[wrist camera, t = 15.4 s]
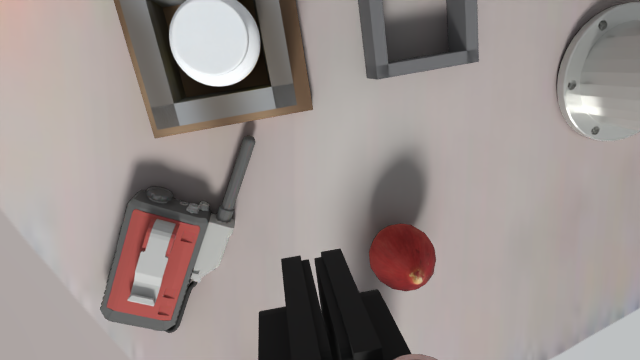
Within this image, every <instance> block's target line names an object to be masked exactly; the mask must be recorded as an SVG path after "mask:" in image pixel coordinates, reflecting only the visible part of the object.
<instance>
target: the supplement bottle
mask: <svg viewBox="0 0 640 360" xmlns="http://www.w3.org/2000/svg"><path fill="white" fill-rule="evenodd" d="M169 41H170V47H171V51H172V54H173V56H174V58H175V60H176V62H177V63H178V65H179V66H180V67H181V69H182V70H183V71H184V72H185V73H186V74H187V75H189V76H190V77H191V78H193V79H194V80H196V81H198V82H200V83H203V84H206V85H210V86H228V85H232V84H235V83H237V82H239V81H241V80H243V79H244V78H245V77H246V76H248V75H249V74H250V73H251V72H252V70H253V69H254V67H255V66H256V64H257V61H258V58H259V53H260V35H259V30H258V27H257V24H256V22H255V20H254V18H253V17H252V15H251V14H250V13H249V11H248V10H247V9H246V8H245V7H244V6H243V5H242V4H241V3H239V2H238V1H237V0H186V1H185V2H184V3H182V4H181V5H180V7H179V8H178V9H177V10H176V12H175V14H174V16H173V18H172V20H171V24H170V29H169Z"/></svg>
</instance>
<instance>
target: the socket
mask: <svg viewBox="0 0 640 360" xmlns="http://www.w3.org/2000/svg"><path fill="white" fill-rule="evenodd" d="M185 1H186V0H114V3H115V6H116V10H117V13H118V16H119V20H120V23H121V26H122V30H123V33H124V37H125V40H126V43H127V47H128V50H129V53H130V57H131V60H132V63H133V67H134V70H135V74H136V77H137V80H138V84H139V87H140V90H141V94H142V97H143V100H144V104H145V107H146V111H147V114H148V117H149V121H150V124H151V127H152V131H153V134H154V137H155V138H159V137H165V136H170V135H176V134H181V133H187V132H192V131H198V130H203V129H209V128H214V127H220V126H225V125H231V124H236V123H242V122H247V121H253V120H258V119H264V118H269V117H275V116H280V115H286V114H291V113H297V112H303V111H308V110H313V106H312V100H311V94H310V88H309V81H308V75H307V69H306V63H305V57H304V50H303V44H302V38H301V32H300V26H299V20H298V13H297V7H296V1H295V0H237V1H238V2H239V3H241V4H242V5H243V6H244V7H245V8H246V9H247V10H248V11H249V13H250V14H251V15H252V17H253V18H254V20H255V22H256V24H257V27H258V30H259V35H260V53H259V58H258V61H257V64H256V66H255V67H254V69H253V70H252V72H251V73H250V74H249V75H248V76H246V77H245V78H244V79H243V80H241V81H239V82H237V83H235V84H232V85H228V86H210V85H206V84H203V83H200V82H198V81H196V80H194V79H193V78H191V77H190V76H189V75H187V74H186V73H185V72H184V71H183V70H182V69H181V67H180V66H179V65H178V63H177V62H176V60H175V58H174V56H173V54H172V51H171V47H170V41H169V29H170V24H171V20H172V18H173V16H174V14H175V12H176V10H177V9H178V8H179V7H180V5H181V4H182V3H184V2H185Z"/></svg>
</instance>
